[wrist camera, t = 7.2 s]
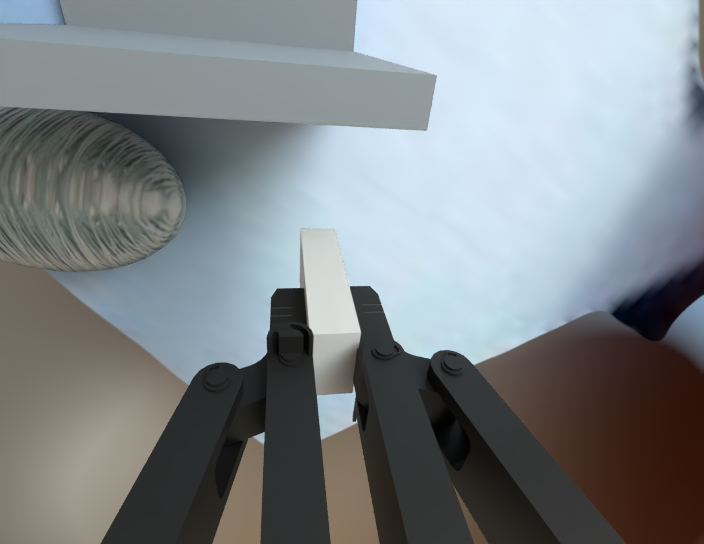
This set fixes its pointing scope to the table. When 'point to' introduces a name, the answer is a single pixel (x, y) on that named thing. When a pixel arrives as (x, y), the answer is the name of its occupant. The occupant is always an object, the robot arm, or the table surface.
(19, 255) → the grey streaked ovoid
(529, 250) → the table surface
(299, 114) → the grey screen
